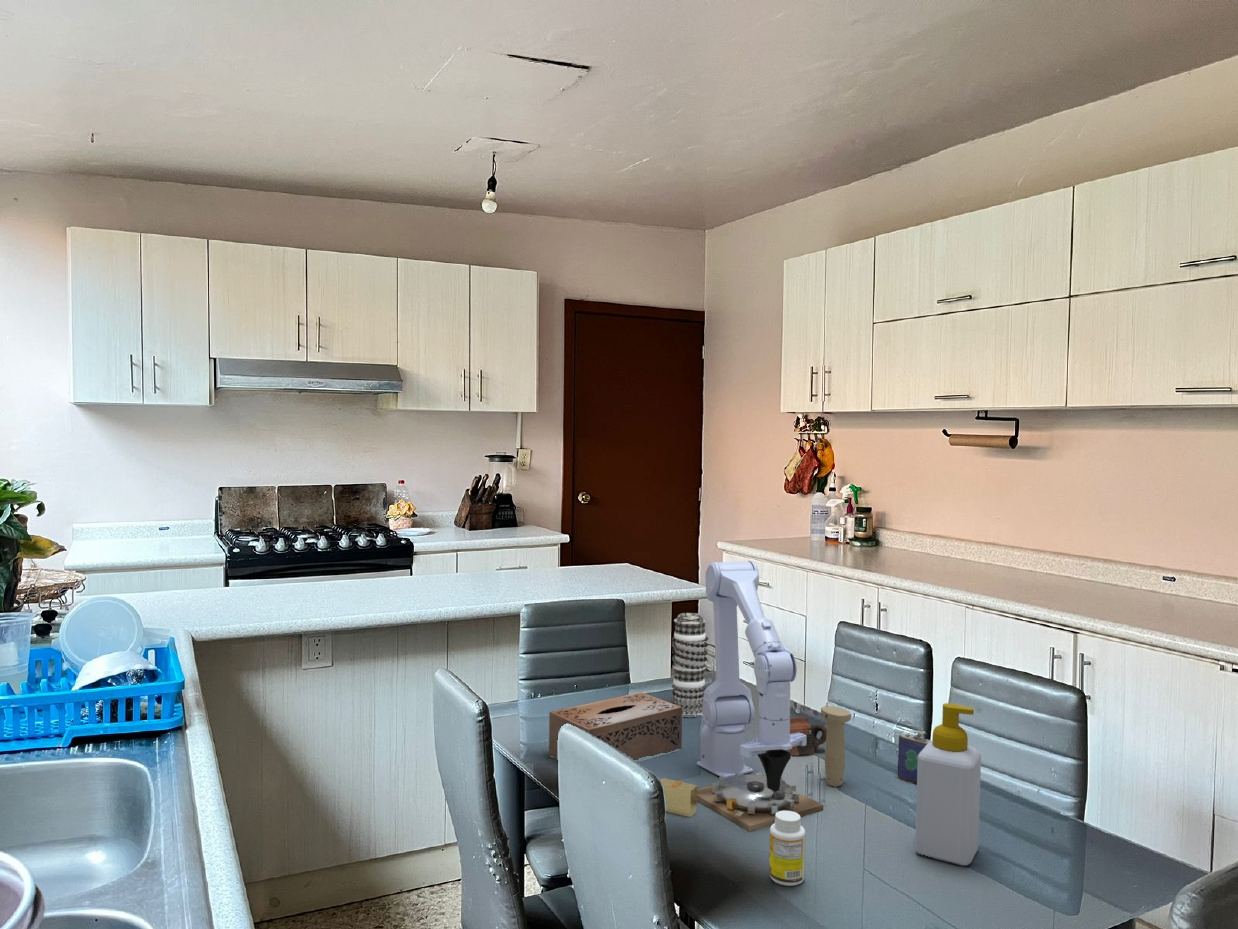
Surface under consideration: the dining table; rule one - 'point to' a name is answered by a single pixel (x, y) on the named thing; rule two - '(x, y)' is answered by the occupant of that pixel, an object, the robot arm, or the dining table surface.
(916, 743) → the flask
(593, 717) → the tissue box cover
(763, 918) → the dining table surface
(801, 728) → the pottery mug
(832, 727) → the handle
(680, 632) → the decorative candle
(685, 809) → the yellow block
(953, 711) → the soap bottle
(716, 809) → the sprocket base
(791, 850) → the supplement bottle
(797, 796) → the sprocket
